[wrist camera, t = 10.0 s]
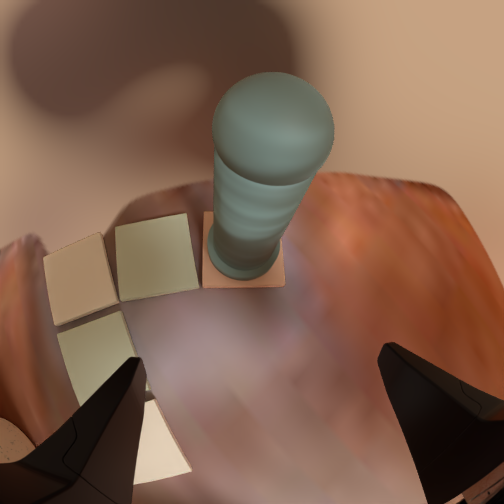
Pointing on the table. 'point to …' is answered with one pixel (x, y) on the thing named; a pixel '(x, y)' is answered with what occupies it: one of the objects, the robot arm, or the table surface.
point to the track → (114, 325)
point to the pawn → (263, 167)
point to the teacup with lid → (13, 443)
